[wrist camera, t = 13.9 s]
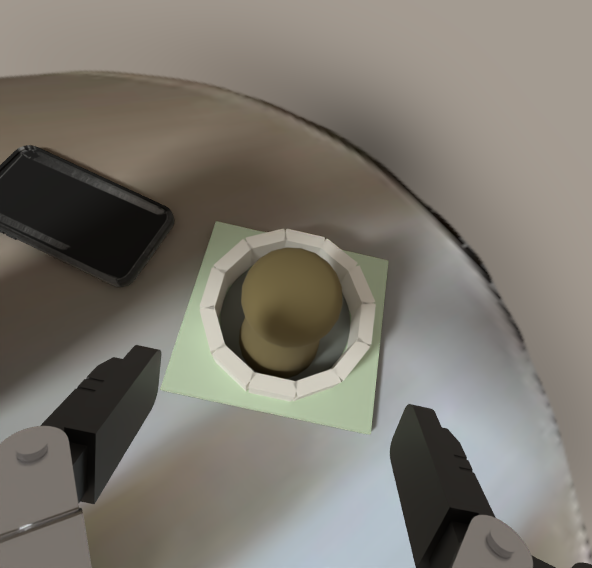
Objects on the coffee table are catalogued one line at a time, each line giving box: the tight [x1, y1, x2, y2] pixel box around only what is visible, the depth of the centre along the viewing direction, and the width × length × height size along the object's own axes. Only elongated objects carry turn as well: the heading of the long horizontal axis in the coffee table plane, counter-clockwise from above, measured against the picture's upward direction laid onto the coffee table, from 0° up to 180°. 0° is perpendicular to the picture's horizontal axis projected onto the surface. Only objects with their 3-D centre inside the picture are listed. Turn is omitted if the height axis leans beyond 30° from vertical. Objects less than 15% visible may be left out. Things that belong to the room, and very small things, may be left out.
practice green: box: [160, 221, 389, 434], centre depth 27 cm, size 15×14×4 cm
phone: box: [0, 145, 174, 287], centre depth 30 cm, size 8×1×15 cm
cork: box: [239, 247, 342, 379], centre depth 22 cm, size 6×6×11 cm
